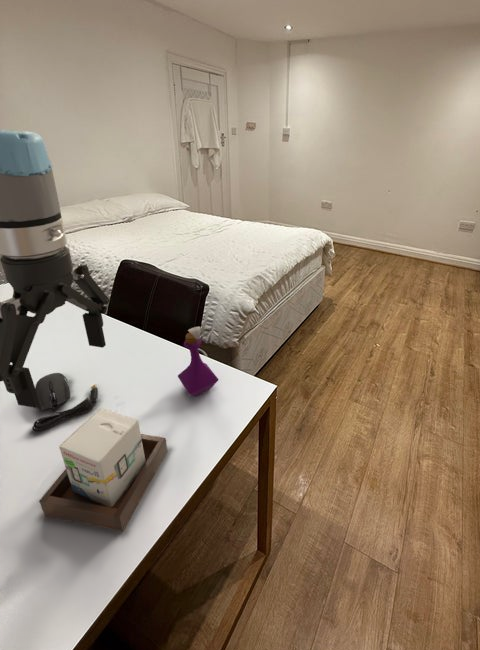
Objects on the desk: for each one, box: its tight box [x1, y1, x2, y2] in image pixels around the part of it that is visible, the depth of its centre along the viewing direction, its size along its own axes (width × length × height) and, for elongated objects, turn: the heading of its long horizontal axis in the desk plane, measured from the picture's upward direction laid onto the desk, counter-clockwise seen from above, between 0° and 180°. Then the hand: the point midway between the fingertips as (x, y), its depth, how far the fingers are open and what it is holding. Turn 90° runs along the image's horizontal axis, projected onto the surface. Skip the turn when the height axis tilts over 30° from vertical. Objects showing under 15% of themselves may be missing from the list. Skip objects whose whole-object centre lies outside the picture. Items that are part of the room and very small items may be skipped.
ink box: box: [58, 407, 146, 508], centre depth 56 cm, size 8×8×12 cm
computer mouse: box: [31, 372, 99, 432], centre depth 75 cm, size 12×18×4 cm
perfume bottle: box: [177, 326, 219, 397], centre depth 77 cm, size 8×8×18 cm
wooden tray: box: [38, 433, 168, 532], centre depth 58 cm, size 14×14×4 cm
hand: (67, 371), depth 52 cm, fingers open, 13 cm apart
